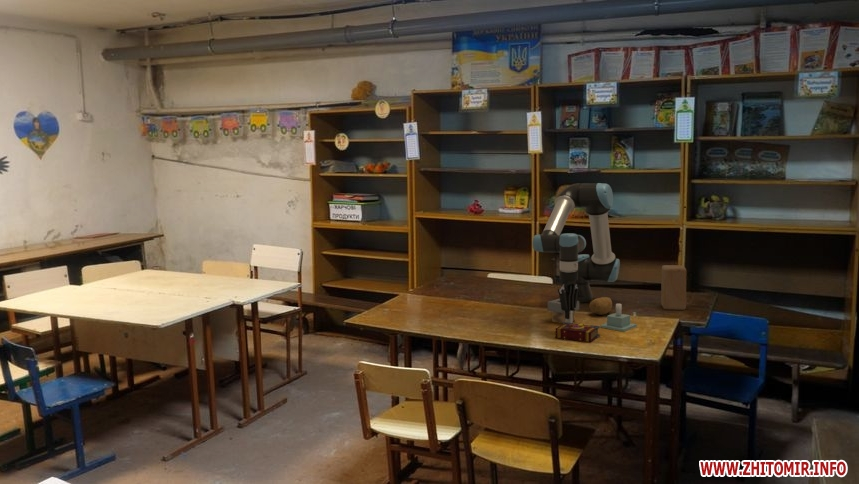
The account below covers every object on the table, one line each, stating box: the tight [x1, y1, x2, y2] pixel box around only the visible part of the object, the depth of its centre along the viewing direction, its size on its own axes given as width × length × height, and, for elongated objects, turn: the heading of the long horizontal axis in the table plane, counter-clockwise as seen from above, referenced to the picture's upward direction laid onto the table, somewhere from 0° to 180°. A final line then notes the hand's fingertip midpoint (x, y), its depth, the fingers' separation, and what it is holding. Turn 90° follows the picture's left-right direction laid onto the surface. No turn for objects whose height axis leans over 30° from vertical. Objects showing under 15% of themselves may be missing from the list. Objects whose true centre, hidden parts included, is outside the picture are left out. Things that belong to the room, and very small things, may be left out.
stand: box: [551, 311, 575, 324], centre depth 295 cm, size 7×7×9 cm
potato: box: [589, 296, 613, 316], centre depth 306 cm, size 10×14×8 cm
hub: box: [599, 303, 638, 333], centre depth 282 cm, size 11×11×10 cm
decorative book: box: [554, 322, 601, 343], centre depth 269 cm, size 11×16×5 cm
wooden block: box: [660, 264, 687, 311], centre depth 315 cm, size 10×10×20 cm
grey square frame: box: [547, 297, 580, 313], centre depth 295 cm, size 10×10×4 cm
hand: (568, 325), depth 278 cm, fingers closed
